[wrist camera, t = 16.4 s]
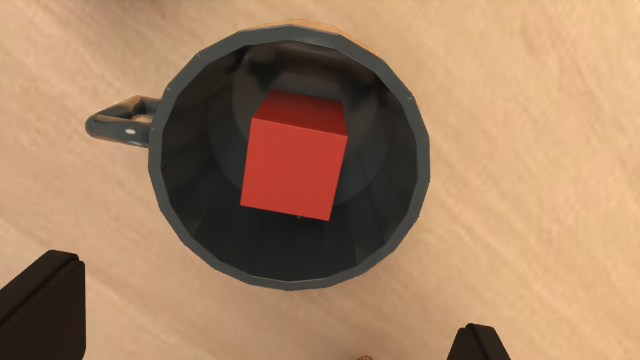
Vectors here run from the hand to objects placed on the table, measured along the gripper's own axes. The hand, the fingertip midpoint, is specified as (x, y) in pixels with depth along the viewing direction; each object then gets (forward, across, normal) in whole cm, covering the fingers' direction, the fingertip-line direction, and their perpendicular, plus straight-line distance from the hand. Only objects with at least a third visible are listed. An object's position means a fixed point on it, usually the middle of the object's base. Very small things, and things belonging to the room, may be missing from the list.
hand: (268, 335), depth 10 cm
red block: (+18, 0, -1) cm, 18 cm away
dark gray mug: (+18, +2, -1) cm, 18 cm away
